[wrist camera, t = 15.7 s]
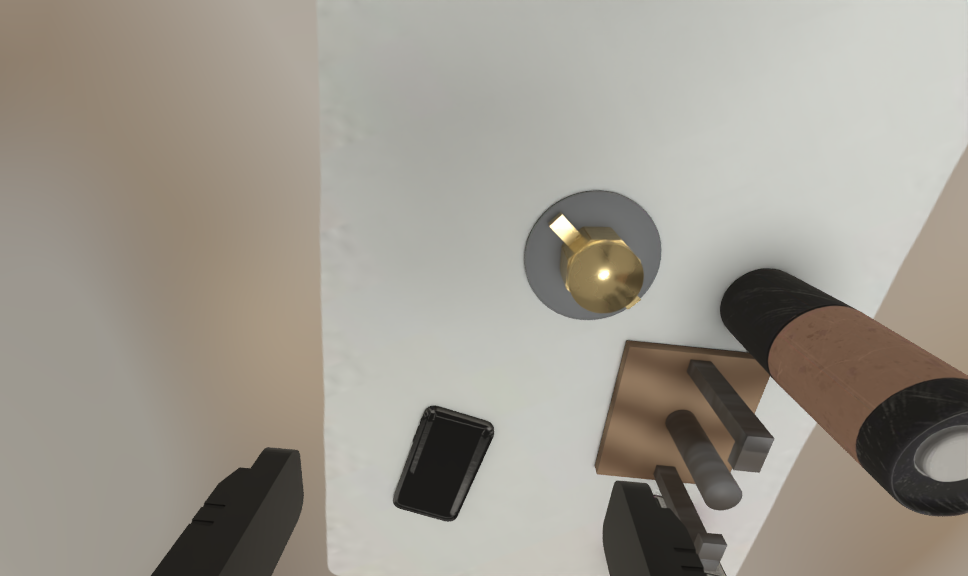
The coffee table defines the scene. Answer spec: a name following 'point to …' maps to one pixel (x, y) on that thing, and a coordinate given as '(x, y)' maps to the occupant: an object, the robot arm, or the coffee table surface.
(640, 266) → the brass pipe fitting
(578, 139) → the coffee table surface
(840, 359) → the travel mug
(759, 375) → the stand
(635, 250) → the coaster
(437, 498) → the phone
